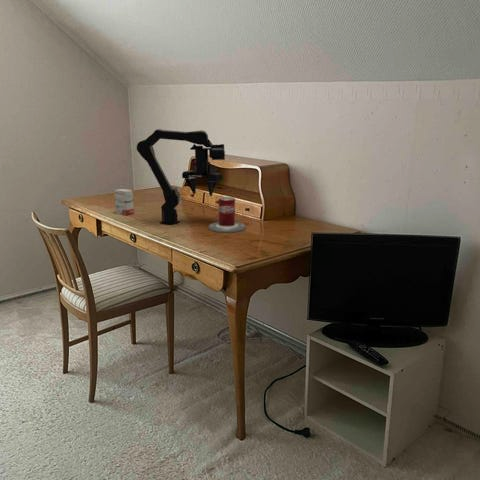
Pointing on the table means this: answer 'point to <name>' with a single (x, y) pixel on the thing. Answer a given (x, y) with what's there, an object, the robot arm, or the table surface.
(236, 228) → the dial plate
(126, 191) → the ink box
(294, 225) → the table surface
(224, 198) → the soda can
